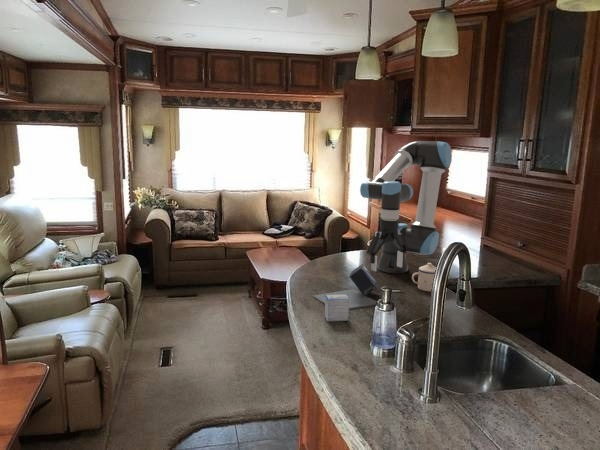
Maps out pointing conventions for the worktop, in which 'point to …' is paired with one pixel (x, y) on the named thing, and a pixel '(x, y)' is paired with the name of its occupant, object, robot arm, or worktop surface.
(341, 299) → the medicine box
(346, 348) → the worktop surface
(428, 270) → the teacup with lid
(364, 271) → the small box
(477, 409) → the worktop surface
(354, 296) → the slate mat
